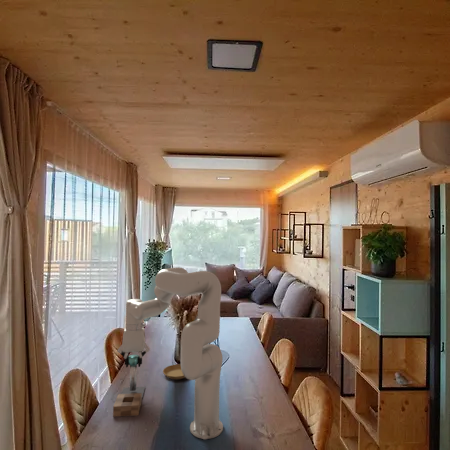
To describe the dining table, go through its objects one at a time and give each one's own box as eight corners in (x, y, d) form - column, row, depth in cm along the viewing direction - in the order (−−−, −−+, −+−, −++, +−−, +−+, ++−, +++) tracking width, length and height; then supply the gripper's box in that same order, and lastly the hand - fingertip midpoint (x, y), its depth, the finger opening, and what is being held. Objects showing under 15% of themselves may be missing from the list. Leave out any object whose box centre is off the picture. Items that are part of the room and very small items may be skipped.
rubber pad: (142, 398, 144) (142, 397, 144) (119, 399, 143) (119, 398, 143) (145, 387, 154) (145, 386, 154) (123, 388, 153) (123, 387, 153)
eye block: (138, 415, 131) (138, 405, 132) (113, 416, 130) (113, 406, 130) (141, 402, 141) (141, 393, 141) (118, 403, 140) (118, 394, 140)
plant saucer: (164, 383, 160) (164, 377, 160) (161, 370, 174) (162, 365, 174) (193, 379, 164) (193, 374, 164) (189, 367, 178) (189, 363, 178)
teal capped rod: (139, 386, 151) (139, 354, 152) (137, 391, 147) (138, 358, 147) (128, 387, 151) (128, 354, 151) (126, 392, 146) (127, 359, 146)
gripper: (153, 323, 154) (152, 362, 154) (116, 324, 152) (116, 363, 152) (152, 328, 147) (151, 368, 146) (113, 329, 144) (112, 370, 144)
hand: (133, 365), depth 149 cm, fingers closed on teal capped rod, 4 cm apart
